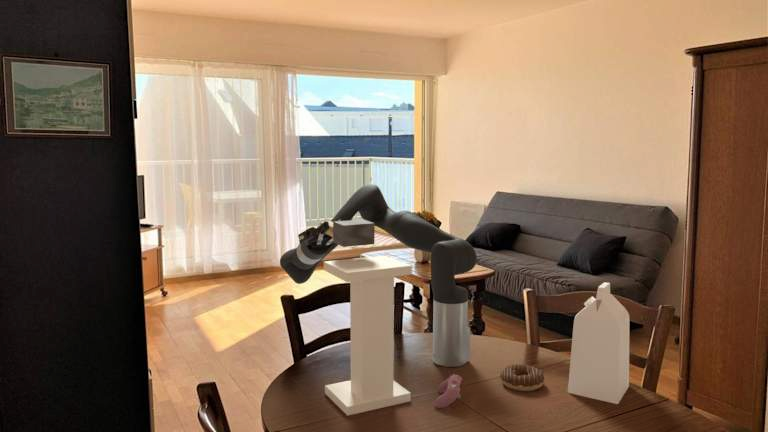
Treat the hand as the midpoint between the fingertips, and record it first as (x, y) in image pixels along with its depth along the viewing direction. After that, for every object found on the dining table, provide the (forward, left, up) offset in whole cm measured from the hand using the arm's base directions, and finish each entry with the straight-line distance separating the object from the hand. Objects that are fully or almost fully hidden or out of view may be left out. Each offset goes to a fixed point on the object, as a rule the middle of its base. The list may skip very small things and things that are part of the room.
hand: (334, 223), depth 155 cm
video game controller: (-16, +29, -39) cm, 51 cm away
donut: (-38, +30, -39) cm, 62 cm away
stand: (0, +19, -39) cm, 43 cm away
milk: (-52, +41, -39) cm, 77 cm away
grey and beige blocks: (0, +5, -3) cm, 6 cm away
